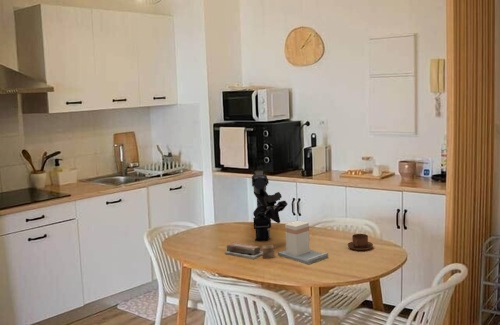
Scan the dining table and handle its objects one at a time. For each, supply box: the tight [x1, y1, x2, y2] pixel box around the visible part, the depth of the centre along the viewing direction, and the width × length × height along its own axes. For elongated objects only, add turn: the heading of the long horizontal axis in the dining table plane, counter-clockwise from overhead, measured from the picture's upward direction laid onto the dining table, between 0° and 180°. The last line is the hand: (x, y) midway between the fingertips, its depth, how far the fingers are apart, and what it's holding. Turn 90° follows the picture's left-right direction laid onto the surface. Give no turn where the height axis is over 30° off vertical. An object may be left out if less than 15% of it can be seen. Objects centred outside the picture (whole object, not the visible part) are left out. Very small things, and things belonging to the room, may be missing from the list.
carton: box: [284, 220, 311, 256], centre depth 269 cm, size 7×9×14 cm
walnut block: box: [262, 244, 275, 259], centre depth 269 cm, size 5×5×5 cm
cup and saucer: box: [347, 233, 374, 251], centre depth 275 cm, size 12×12×6 cm
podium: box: [277, 249, 329, 265], centre depth 267 cm, size 20×13×2 cm, turn 40°
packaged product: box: [224, 241, 263, 260], centre depth 275 cm, size 18×5×10 cm
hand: (279, 222), depth 277 cm, fingers closed
